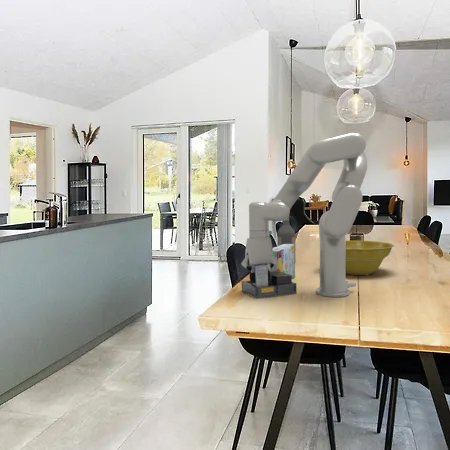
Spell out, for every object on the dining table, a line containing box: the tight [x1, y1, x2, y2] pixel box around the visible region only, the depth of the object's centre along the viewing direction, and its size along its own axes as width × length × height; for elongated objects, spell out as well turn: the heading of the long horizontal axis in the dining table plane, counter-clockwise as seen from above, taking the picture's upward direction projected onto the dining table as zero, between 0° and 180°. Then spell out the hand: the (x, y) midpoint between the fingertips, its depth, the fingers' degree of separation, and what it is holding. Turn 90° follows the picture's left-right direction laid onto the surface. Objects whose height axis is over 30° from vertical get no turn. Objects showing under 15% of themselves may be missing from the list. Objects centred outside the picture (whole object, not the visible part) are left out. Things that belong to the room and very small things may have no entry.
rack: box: [241, 271, 298, 299], centre depth 181 cm, size 17×13×7 cm
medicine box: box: [252, 264, 268, 287], centre depth 179 cm, size 8×4×9 cm, turn 10°
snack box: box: [269, 244, 296, 279], centre depth 201 cm, size 21×6×15 cm, turn 152°
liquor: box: [276, 215, 296, 252], centre depth 243 cm, size 9×9×30 cm
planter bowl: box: [346, 240, 395, 276], centre depth 217 cm, size 32×32×13 cm
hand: (259, 281), depth 180 cm, fingers closed on medicine box, 5 cm apart
